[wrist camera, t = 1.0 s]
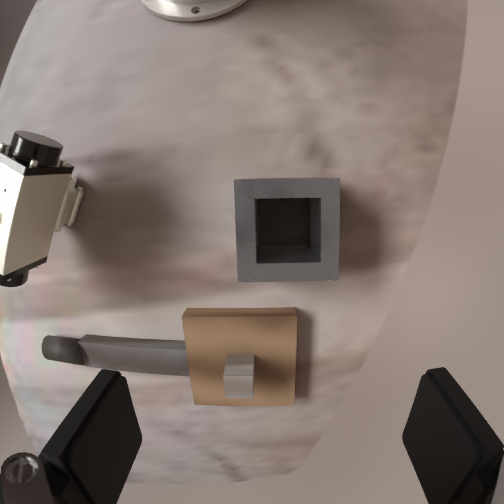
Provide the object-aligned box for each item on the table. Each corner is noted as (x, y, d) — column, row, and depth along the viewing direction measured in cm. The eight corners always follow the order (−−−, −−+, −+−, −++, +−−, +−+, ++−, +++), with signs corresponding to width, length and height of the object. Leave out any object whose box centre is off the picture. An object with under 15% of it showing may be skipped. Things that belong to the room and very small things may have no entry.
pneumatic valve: (106, 152, 27) (22, 145, 15) (69, 262, 29) (-9, 303, 18) (65, 134, 26) (-21, 123, 15) (33, 239, 29) (-47, 268, 17)
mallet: (44, 302, 31) (16, 321, 25) (295, 306, 29) (301, 334, 24) (65, 377, 33) (44, 402, 27) (292, 393, 32) (296, 428, 26)
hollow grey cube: (240, 179, 27) (233, 179, 21) (324, 177, 27) (339, 178, 21) (243, 260, 29) (238, 282, 23) (323, 258, 28) (338, 279, 22)
